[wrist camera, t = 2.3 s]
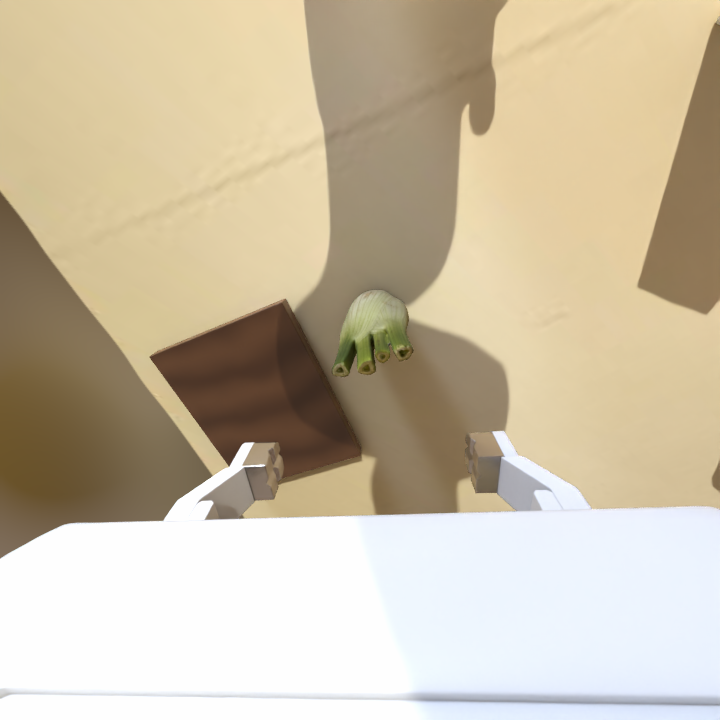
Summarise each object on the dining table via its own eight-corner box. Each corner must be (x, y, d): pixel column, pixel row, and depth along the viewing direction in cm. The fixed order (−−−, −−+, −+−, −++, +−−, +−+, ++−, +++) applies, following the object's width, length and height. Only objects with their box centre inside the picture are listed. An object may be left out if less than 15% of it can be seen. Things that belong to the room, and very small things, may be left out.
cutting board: (157, 351, 36) (148, 356, 35) (285, 298, 33) (281, 302, 32) (249, 480, 44) (245, 489, 42) (361, 447, 41) (360, 455, 39)
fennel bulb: (343, 328, 34) (327, 386, 23) (349, 281, 32) (334, 320, 21) (398, 336, 34) (409, 398, 23) (408, 290, 32) (424, 333, 21)
